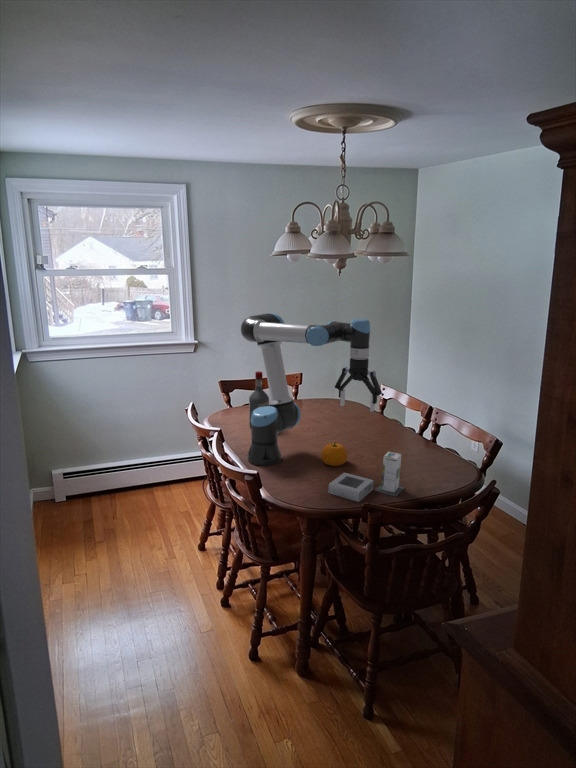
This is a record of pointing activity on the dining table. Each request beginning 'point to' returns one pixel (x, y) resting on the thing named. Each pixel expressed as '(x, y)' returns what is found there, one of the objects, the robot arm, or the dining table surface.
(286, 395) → the robot arm
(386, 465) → the syrup box
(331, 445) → the fruit
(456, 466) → the dining table surface
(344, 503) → the dining table surface
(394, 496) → the mat
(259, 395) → the liquor
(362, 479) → the block
